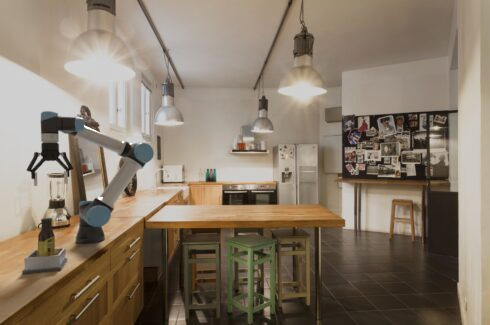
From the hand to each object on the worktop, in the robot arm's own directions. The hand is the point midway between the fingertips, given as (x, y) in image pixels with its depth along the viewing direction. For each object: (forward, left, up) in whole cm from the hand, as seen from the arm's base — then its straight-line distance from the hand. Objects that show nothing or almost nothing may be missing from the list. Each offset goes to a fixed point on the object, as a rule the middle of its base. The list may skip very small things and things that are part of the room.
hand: (51, 184), depth 160 cm
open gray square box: (+8, +24, -34) cm, 42 cm away
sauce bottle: (+8, +24, -33) cm, 42 cm away
